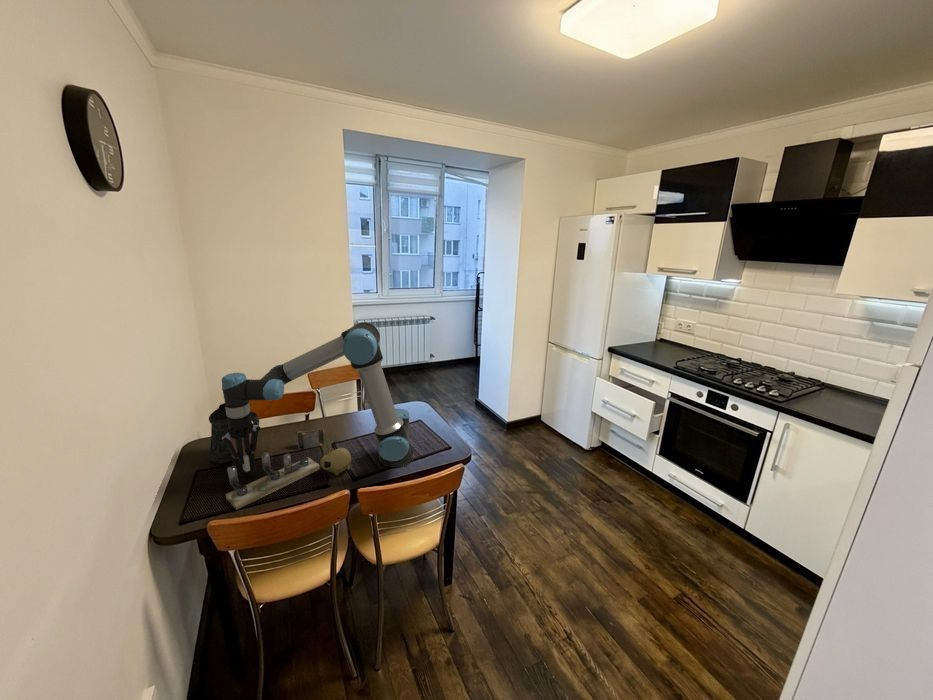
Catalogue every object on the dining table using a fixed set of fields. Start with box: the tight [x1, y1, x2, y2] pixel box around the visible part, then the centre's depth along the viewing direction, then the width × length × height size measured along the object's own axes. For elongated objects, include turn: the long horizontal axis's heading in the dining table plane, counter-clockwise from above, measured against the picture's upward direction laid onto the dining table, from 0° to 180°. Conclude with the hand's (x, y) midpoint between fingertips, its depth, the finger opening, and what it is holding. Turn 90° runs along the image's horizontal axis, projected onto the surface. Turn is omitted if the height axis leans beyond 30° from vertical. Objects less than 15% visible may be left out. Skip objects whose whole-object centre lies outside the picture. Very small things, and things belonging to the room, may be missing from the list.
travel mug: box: [230, 432, 257, 478], centre depth 146 cm, size 8×8×20 cm
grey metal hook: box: [260, 451, 280, 480], centre depth 143 cm, size 10×3×8 cm, turn 52°
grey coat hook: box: [282, 453, 309, 472], centre depth 148 cm, size 10×3×8 cm, turn 145°
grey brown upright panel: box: [296, 428, 326, 450], centre depth 168 cm, size 11×3×10 cm, turn 114°
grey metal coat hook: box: [226, 466, 248, 496], centre depth 134 cm, size 10×3×8 cm, turn 52°
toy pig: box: [319, 447, 352, 476], centre depth 150 cm, size 10×12×11 cm
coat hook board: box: [225, 456, 321, 511], centre depth 143 cm, size 9×32×3 cm, turn 142°
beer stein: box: [207, 402, 260, 469], centre depth 156 cm, size 16×19×25 cm
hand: (246, 469), depth 140 cm, fingers closed
